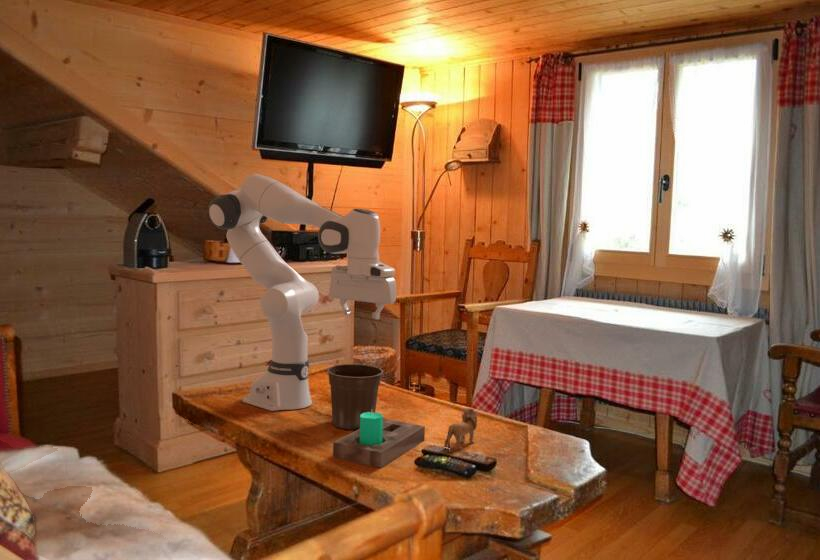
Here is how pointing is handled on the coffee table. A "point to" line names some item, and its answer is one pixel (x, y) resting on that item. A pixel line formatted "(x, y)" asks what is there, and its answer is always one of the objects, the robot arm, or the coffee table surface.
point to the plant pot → (353, 393)
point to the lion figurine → (463, 428)
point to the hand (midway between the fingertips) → (361, 317)
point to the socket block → (393, 444)
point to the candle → (371, 428)
